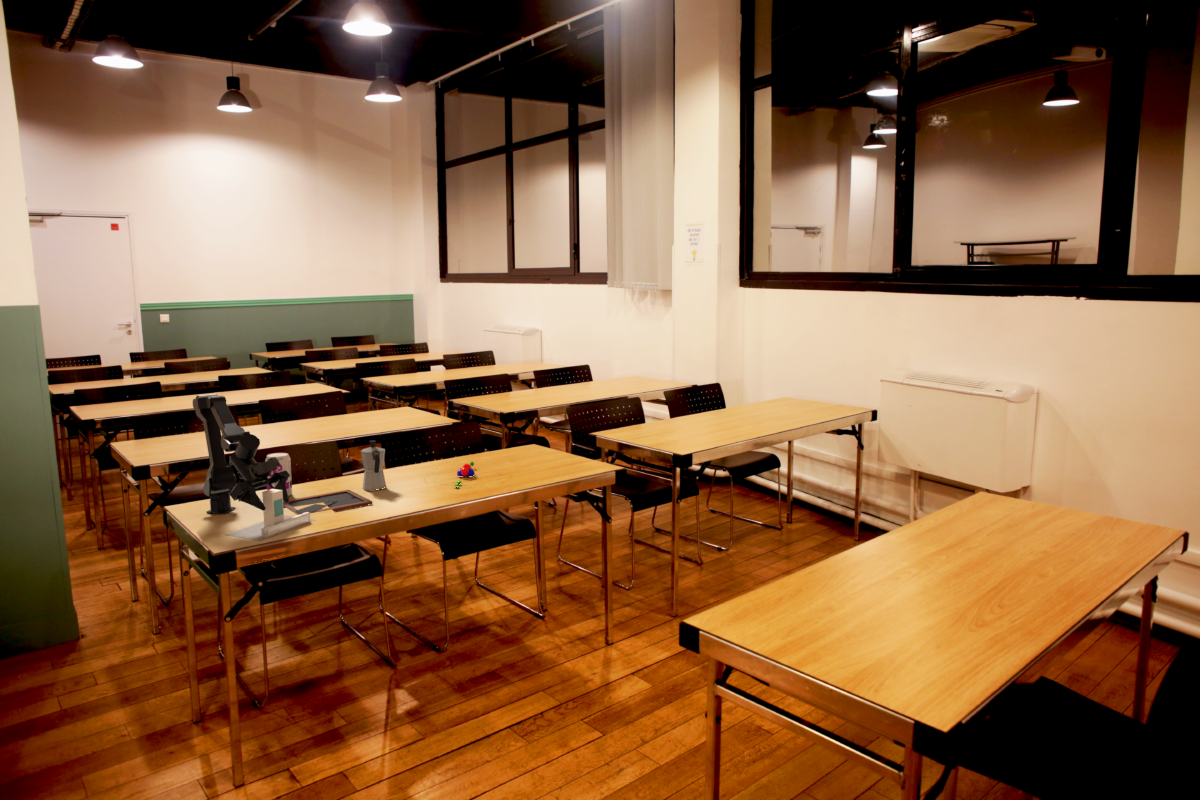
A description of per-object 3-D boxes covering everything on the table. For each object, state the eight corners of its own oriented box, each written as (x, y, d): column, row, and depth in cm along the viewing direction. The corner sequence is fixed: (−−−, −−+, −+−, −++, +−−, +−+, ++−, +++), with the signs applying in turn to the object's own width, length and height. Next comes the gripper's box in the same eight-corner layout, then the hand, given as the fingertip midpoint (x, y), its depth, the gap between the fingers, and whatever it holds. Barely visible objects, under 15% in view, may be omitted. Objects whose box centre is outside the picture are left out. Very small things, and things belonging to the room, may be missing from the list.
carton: (264, 528, 231) (262, 491, 230) (274, 524, 235) (272, 488, 233) (274, 530, 230) (272, 493, 228) (284, 526, 234) (282, 490, 232)
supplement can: (283, 499, 267) (281, 457, 265) (262, 498, 268) (260, 456, 266) (297, 493, 275) (294, 453, 272) (276, 492, 276) (274, 451, 274)
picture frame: (298, 520, 245) (372, 506, 262) (298, 514, 245) (372, 500, 261) (278, 506, 260) (348, 494, 276) (277, 501, 260) (348, 488, 276)
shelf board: (225, 537, 226) (225, 534, 225) (282, 517, 246) (282, 514, 246) (260, 544, 220) (260, 540, 220) (315, 523, 240) (315, 520, 240)
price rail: (261, 538, 223) (261, 528, 222) (307, 521, 239) (306, 511, 239) (265, 538, 222) (264, 528, 222) (310, 521, 238) (310, 512, 238)
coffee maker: (359, 485, 286) (357, 438, 284) (382, 482, 290) (381, 436, 288) (366, 494, 273) (364, 446, 271) (391, 492, 277) (389, 443, 275)
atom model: (502, 493, 283) (502, 479, 282) (410, 489, 283) (410, 475, 282) (514, 467, 317) (514, 454, 316) (433, 463, 317) (433, 450, 316)
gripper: (234, 456, 222) (265, 497, 219) (283, 444, 239) (312, 482, 236) (217, 480, 226) (246, 520, 224) (266, 466, 243) (294, 503, 241)
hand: (276, 505), depth 231 cm, fingers open, 9 cm apart
